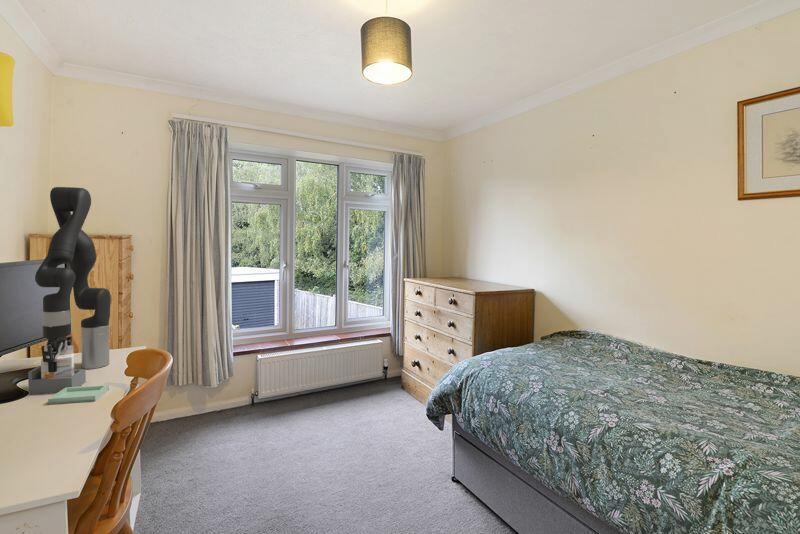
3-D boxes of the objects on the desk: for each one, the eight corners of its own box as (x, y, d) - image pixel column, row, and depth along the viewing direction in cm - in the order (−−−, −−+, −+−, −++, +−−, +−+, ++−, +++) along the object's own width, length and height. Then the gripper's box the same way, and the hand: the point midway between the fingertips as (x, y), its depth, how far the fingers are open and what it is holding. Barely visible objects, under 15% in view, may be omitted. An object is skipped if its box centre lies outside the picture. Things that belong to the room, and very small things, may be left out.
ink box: (40, 392, 132) (39, 351, 131) (44, 387, 136) (43, 347, 135) (72, 388, 137) (71, 348, 136) (75, 383, 141) (74, 344, 140)
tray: (65, 392, 133) (65, 387, 133) (108, 389, 137) (108, 384, 137) (48, 404, 123) (48, 399, 123) (95, 401, 127) (95, 395, 127)
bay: (45, 384, 139) (45, 363, 139) (85, 382, 143) (85, 361, 142) (28, 394, 130) (28, 371, 130) (71, 391, 134) (71, 369, 133)
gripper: (56, 319, 141) (57, 363, 142) (30, 327, 127) (32, 376, 128) (80, 318, 143) (81, 362, 144) (57, 327, 129) (58, 375, 130)
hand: (57, 368), depth 136 cm, fingers closed on ink box, 5 cm apart
